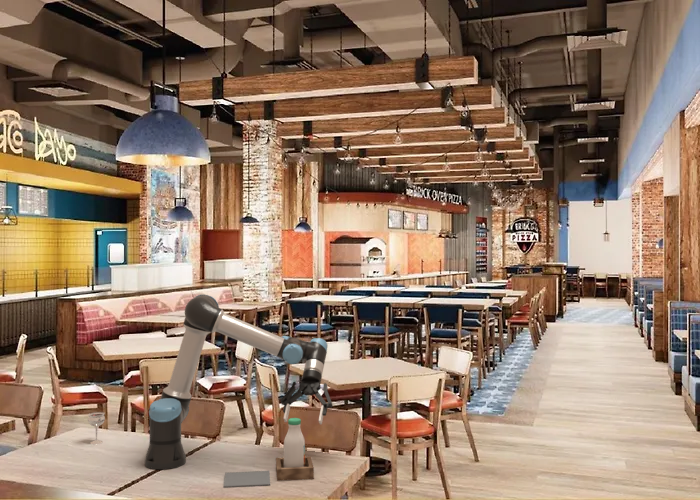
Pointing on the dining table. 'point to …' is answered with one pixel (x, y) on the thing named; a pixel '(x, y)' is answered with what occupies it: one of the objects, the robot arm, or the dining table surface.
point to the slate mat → (247, 479)
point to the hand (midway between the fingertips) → (302, 421)
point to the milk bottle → (294, 445)
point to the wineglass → (96, 422)
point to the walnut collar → (294, 470)
